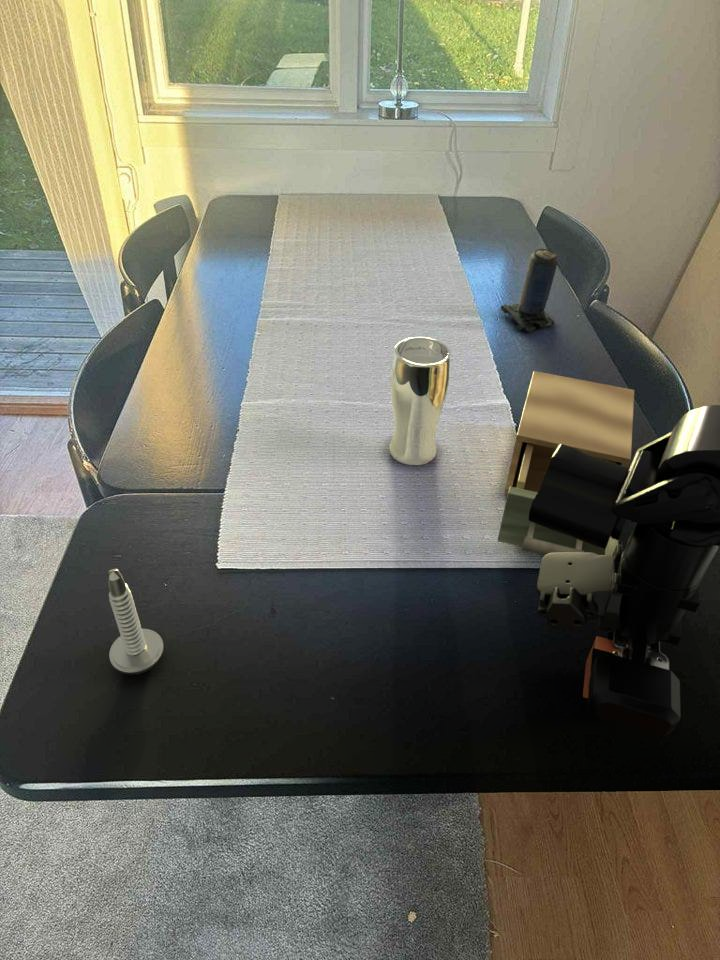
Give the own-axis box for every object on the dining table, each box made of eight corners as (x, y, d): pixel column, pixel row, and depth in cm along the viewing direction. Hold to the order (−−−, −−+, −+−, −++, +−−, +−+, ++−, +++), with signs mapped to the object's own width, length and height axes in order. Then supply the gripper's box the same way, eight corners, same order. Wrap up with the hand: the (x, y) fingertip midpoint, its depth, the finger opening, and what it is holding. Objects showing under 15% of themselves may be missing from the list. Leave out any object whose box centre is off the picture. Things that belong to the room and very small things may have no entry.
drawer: (598, 595, 73) (617, 547, 68) (490, 567, 75) (501, 519, 70) (608, 488, 86) (624, 441, 81) (515, 468, 88) (525, 421, 83)
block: (629, 673, 65) (642, 647, 62) (628, 710, 62) (641, 685, 59) (586, 661, 66) (596, 635, 63) (582, 697, 63) (593, 671, 60)
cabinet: (609, 518, 83) (631, 459, 77) (503, 494, 86) (516, 435, 80) (615, 446, 93) (634, 389, 88) (520, 427, 96) (533, 370, 90)
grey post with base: (560, 325, 118) (577, 257, 111) (524, 335, 116) (539, 266, 108) (527, 303, 124) (540, 237, 116) (492, 311, 121) (503, 244, 114)
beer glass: (440, 469, 89) (454, 367, 79) (386, 467, 89) (393, 365, 79) (437, 435, 94) (450, 336, 84) (385, 434, 94) (392, 334, 84)
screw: (141, 694, 64) (102, 670, 65) (177, 656, 67) (139, 634, 69) (112, 603, 55) (69, 577, 57) (155, 564, 58) (113, 541, 60)
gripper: (567, 464, 62) (533, 581, 72) (541, 627, 48) (504, 743, 58) (701, 493, 59) (646, 610, 69) (713, 674, 46) (643, 785, 56)
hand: (609, 678), depth 63 cm, fingers closed on block, 4 cm apart
